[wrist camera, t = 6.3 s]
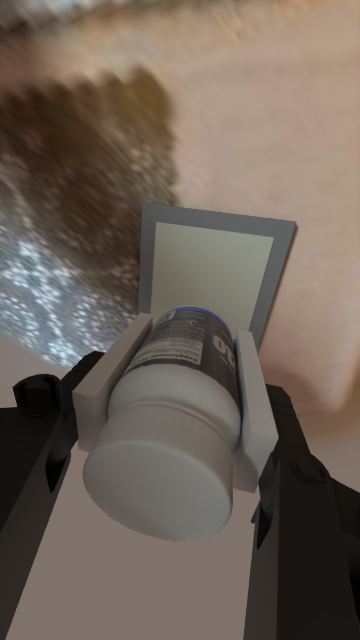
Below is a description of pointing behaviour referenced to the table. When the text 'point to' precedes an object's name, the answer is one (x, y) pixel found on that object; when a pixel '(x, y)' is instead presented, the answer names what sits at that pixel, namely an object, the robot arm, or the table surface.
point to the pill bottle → (171, 431)
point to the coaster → (211, 264)
